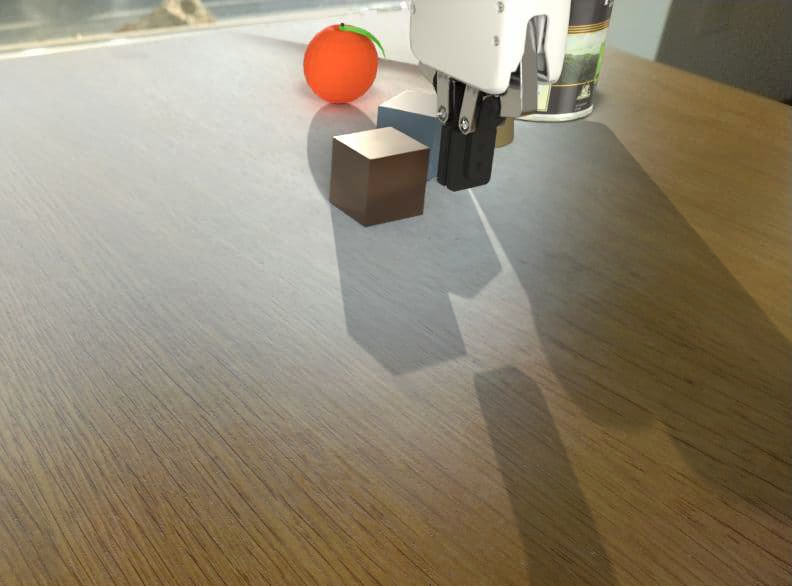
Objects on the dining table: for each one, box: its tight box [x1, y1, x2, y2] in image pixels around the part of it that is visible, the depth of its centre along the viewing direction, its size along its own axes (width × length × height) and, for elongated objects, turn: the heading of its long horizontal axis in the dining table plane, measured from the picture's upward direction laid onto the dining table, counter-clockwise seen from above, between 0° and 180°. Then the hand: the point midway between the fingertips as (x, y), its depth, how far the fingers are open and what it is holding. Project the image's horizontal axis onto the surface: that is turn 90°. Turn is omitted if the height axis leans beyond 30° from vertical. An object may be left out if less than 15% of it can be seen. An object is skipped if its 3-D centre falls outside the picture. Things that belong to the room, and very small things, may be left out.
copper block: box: [329, 127, 430, 228], centre depth 71 cm, size 5×5×5 cm
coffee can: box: [516, 0, 615, 123], centre depth 88 cm, size 10×10×14 cm
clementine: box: [302, 22, 387, 105], centre depth 90 cm, size 8×7×7 cm
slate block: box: [375, 89, 446, 181], centre depth 78 cm, size 5×5×5 cm
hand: (463, 183), depth 65 cm, fingers closed
